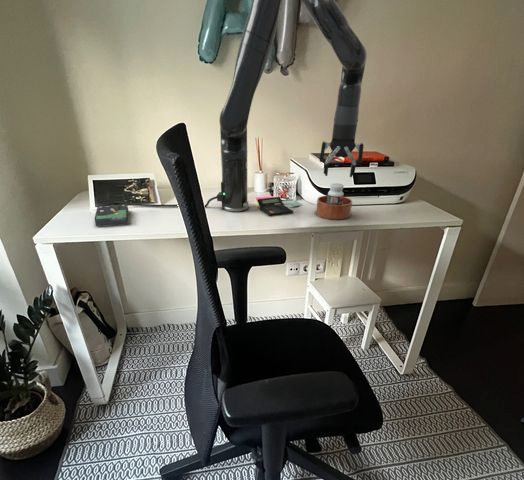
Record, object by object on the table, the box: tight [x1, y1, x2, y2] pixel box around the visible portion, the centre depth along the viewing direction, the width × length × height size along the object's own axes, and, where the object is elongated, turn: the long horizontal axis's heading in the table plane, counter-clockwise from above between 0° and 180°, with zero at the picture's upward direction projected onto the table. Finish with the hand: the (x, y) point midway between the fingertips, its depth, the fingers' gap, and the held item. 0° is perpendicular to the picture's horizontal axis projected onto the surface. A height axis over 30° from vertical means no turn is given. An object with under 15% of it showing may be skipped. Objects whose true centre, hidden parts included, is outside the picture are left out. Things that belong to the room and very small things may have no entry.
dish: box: [315, 195, 353, 221], centre depth 135 cm, size 13×13×5 cm
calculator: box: [257, 196, 294, 217], centre depth 138 cm, size 9×12×3 cm
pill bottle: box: [326, 183, 345, 205], centre depth 133 cm, size 6×6×10 cm
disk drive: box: [94, 204, 130, 227], centre depth 126 cm, size 10×3×15 cm
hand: (338, 176), depth 129 cm, fingers open, 8 cm apart
